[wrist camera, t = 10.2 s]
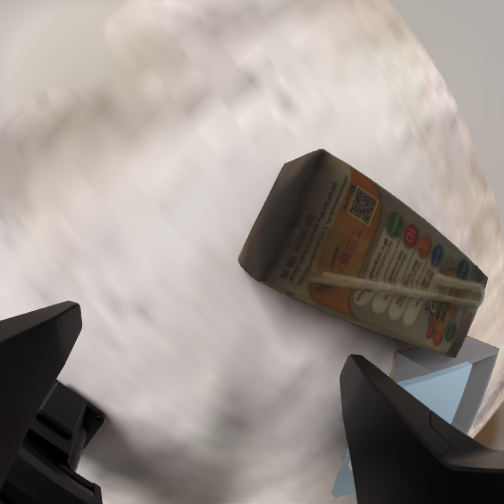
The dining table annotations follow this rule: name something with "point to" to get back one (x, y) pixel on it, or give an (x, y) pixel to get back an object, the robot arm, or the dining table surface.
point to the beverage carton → (362, 256)
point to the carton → (429, 361)
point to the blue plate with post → (430, 394)
